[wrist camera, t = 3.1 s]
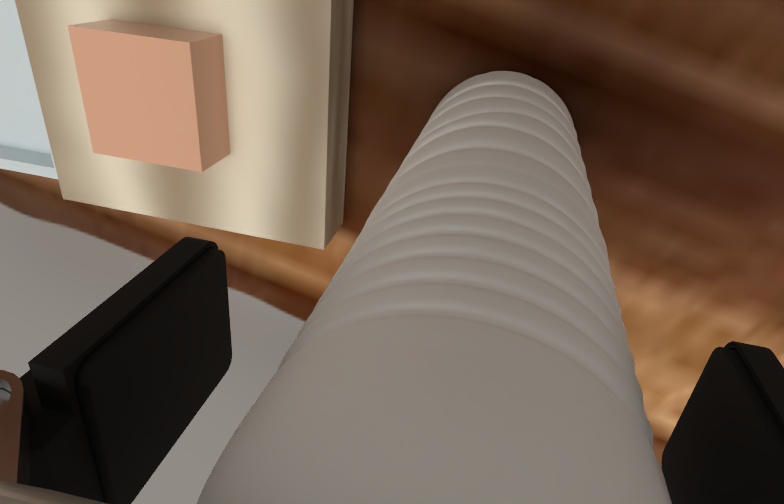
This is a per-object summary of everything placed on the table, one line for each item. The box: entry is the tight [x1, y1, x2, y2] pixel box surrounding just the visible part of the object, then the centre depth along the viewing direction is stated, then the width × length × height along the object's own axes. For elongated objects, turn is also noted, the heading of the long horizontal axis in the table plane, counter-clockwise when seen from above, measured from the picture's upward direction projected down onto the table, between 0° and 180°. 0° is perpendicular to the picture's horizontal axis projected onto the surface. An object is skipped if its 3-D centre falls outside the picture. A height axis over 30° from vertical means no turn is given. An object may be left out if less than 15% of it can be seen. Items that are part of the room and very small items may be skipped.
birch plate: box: [15, 0, 354, 250], centre depth 24 cm, size 14×13×3 cm
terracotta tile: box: [67, 19, 230, 172], centre depth 22 cm, size 5×5×2 cm
